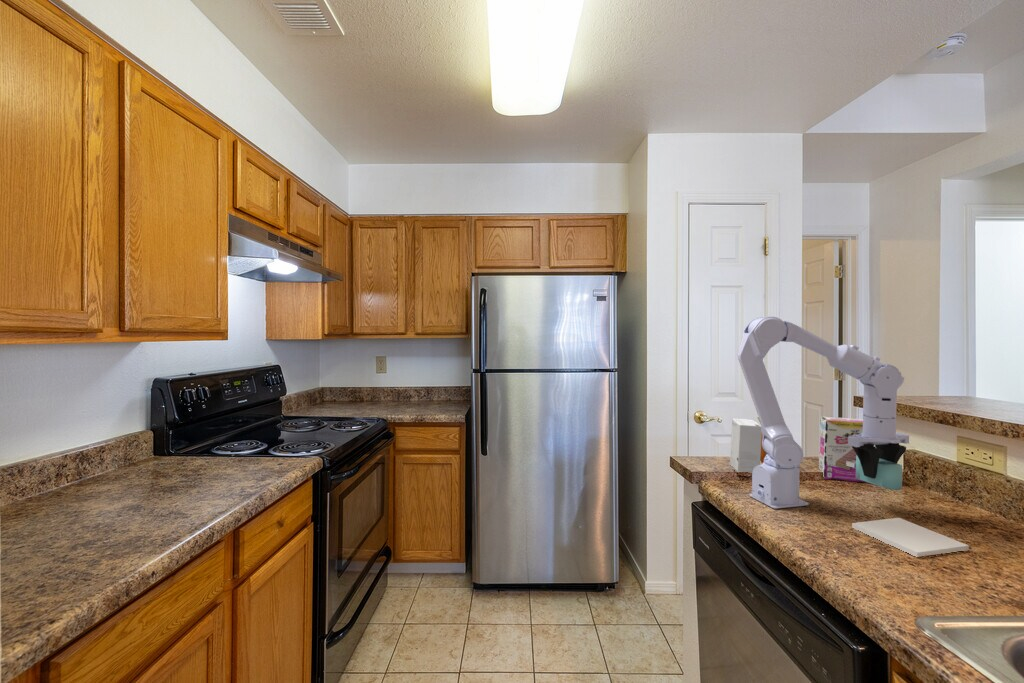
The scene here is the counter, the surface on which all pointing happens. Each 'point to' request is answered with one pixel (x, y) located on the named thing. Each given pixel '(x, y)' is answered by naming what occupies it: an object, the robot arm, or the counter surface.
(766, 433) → the robot arm
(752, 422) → the skincare box
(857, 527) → the tile
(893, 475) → the plug block
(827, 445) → the candy bar box
